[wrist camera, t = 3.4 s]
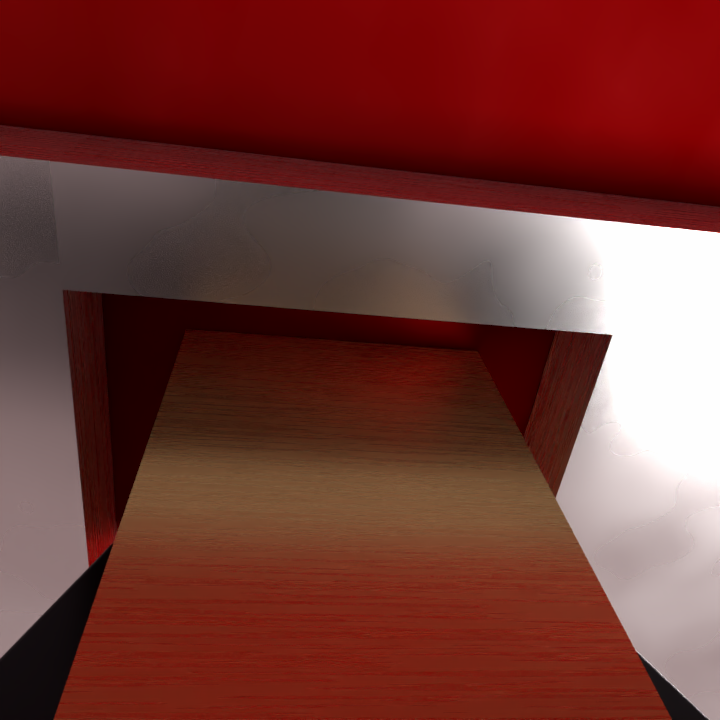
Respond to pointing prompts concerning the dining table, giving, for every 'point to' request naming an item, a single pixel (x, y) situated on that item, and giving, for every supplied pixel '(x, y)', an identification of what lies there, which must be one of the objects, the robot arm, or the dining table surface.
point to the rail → (381, 298)
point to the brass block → (346, 552)
